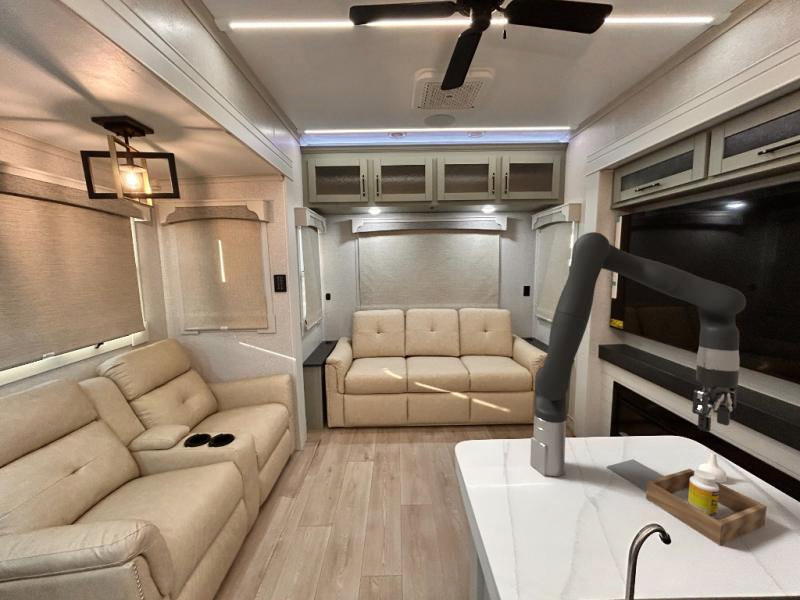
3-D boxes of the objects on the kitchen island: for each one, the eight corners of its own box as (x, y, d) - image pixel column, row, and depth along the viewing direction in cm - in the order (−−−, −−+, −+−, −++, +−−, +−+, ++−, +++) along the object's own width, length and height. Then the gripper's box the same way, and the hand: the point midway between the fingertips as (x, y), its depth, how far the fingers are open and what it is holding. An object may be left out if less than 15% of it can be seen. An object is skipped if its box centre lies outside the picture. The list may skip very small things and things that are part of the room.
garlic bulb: (730, 487, 92) (736, 462, 91) (703, 480, 95) (708, 456, 94) (718, 475, 98) (723, 451, 97) (693, 468, 100) (698, 445, 100)
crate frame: (719, 545, 72) (721, 525, 72) (645, 498, 87) (646, 481, 87) (764, 525, 78) (766, 506, 77) (688, 484, 93) (689, 468, 92)
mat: (645, 491, 90) (645, 490, 90) (606, 467, 101) (606, 466, 101) (673, 482, 94) (674, 481, 94) (633, 460, 105) (633, 459, 105)
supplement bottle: (713, 522, 79) (716, 484, 78) (684, 509, 83) (687, 472, 82) (719, 513, 82) (722, 476, 81) (691, 500, 86) (693, 465, 86)
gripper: (714, 358, 85) (710, 416, 86) (682, 364, 80) (679, 426, 81) (752, 365, 78) (748, 428, 79) (720, 372, 73) (716, 439, 74)
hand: (713, 427), depth 80 cm, fingers open, 8 cm apart
